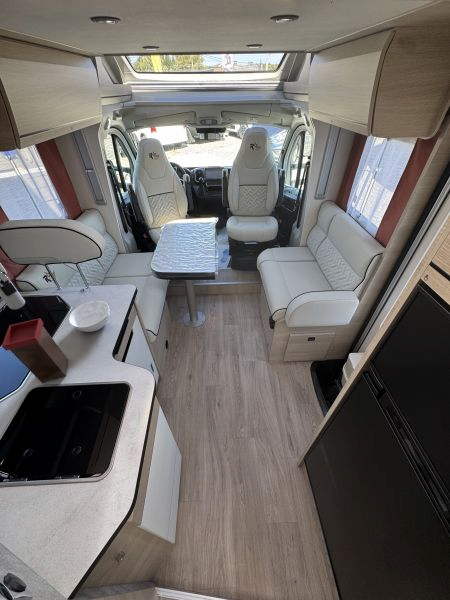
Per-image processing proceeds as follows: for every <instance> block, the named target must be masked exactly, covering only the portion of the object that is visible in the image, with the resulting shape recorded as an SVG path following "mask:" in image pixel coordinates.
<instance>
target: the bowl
mask: <svg viewBox="0 0 450 600" xmlns="http://www.w3.org/2000/svg"><path fill="white" fill-rule="evenodd" d="M110 316H111V310H110V306H109V304H108V303H107V302H106V301H101V300H91V301H88V302H84V303H82V304H80V305H79V306H77V307H76V308H74V310H72V312H70V315H69V318H68V321H69V324H70V325H71V326H72V327H73V328H74V329H75V330H78V331H80V332H85V333H90V332H91V333H92V332H95V331H98V330H100V329H103V327H104V326H105V325H106V324H107V323H108V322H109V319H110Z"/></svg>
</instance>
